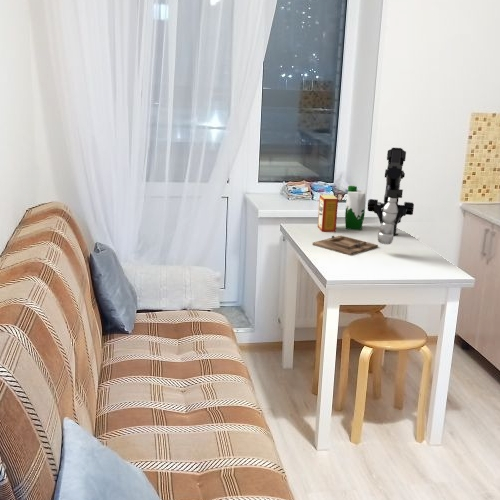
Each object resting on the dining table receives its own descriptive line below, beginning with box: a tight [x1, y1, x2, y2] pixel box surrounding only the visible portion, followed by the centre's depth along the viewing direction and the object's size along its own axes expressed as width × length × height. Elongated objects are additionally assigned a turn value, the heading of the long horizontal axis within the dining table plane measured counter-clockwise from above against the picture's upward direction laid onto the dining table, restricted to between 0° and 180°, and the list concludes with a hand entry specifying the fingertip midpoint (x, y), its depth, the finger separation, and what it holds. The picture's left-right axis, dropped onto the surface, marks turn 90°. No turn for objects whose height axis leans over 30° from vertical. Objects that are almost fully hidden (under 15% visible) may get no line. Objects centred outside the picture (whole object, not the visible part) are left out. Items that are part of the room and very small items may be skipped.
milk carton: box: [344, 185, 367, 231], centre depth 315 cm, size 9×9×20 cm
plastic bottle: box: [377, 197, 398, 245], centre depth 272 cm, size 6×7×20 cm
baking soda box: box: [317, 194, 339, 233], centre depth 311 cm, size 10×6×16 cm
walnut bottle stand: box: [312, 235, 379, 256], centre depth 285 cm, size 20×20×3 cm
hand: (388, 224), depth 271 cm, fingers closed on plastic bottle, 6 cm apart
